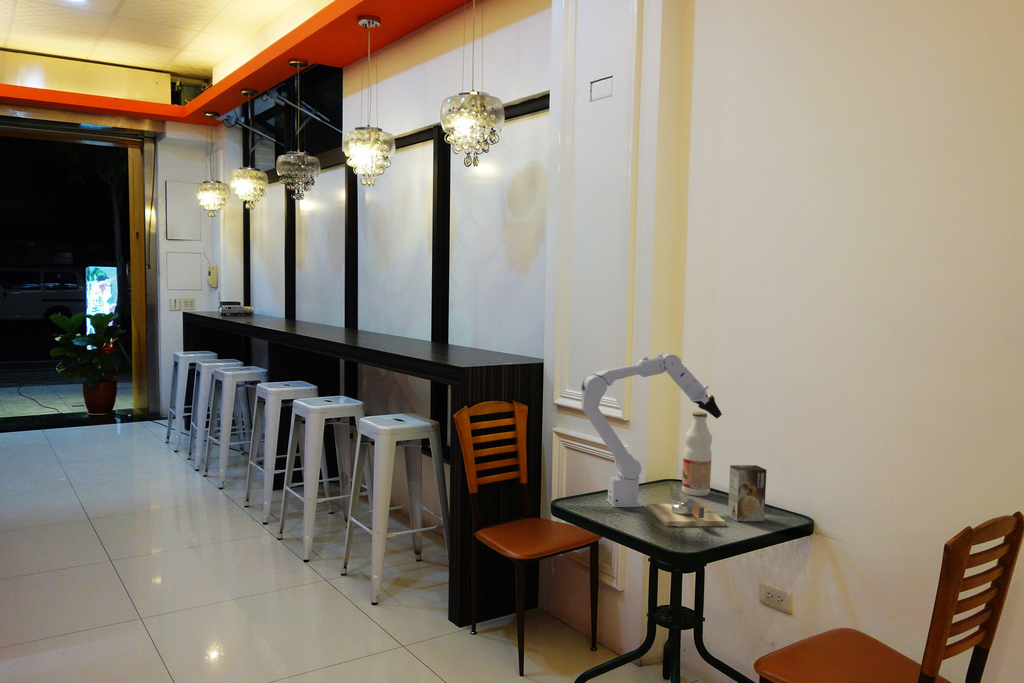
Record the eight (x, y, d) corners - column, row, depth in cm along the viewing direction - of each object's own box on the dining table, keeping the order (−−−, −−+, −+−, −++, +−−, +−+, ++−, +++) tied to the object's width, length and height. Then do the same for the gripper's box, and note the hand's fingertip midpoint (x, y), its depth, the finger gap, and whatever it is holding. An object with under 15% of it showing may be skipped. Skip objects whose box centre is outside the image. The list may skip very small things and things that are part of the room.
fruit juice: (701, 498, 244) (706, 416, 242) (676, 492, 250) (680, 412, 248) (714, 493, 251) (718, 413, 249) (689, 487, 257) (694, 409, 255)
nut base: (667, 526, 211) (667, 521, 211) (646, 508, 229) (646, 503, 229) (731, 525, 214) (731, 520, 214) (706, 508, 232) (706, 503, 232)
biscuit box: (754, 515, 226) (757, 464, 225) (764, 521, 220) (767, 469, 219) (726, 515, 225) (729, 464, 224) (736, 522, 219) (739, 469, 218)
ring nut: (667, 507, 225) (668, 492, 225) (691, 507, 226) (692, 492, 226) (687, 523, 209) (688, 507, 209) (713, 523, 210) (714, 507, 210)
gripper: (703, 379, 225) (732, 410, 226) (692, 371, 239) (719, 400, 240) (686, 394, 225) (715, 425, 226) (676, 385, 240) (703, 414, 241)
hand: (716, 413), depth 233 cm, fingers open, 7 cm apart
